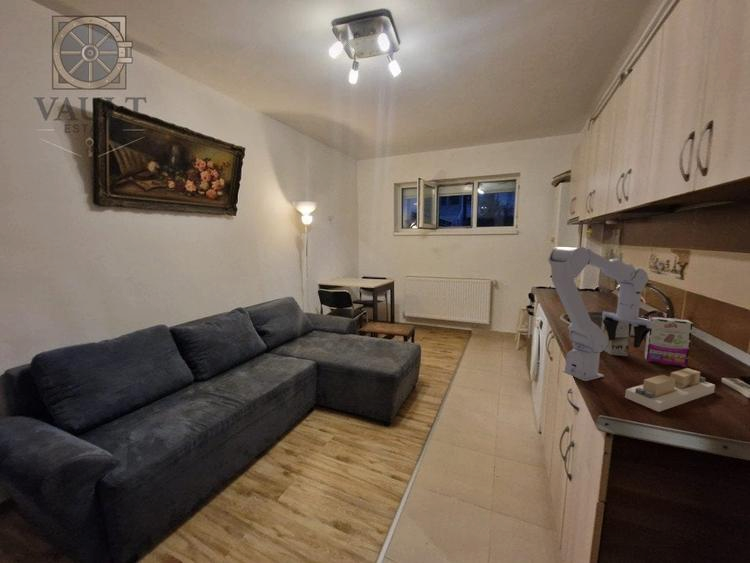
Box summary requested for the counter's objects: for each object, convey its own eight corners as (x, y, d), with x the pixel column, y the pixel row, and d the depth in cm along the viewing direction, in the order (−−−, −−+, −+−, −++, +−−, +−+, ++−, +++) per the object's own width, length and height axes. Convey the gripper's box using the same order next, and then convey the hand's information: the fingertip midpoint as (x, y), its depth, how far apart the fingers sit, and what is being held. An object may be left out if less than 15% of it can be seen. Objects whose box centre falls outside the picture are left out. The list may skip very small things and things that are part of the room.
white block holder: (658, 411, 82) (661, 390, 81) (624, 397, 90) (627, 377, 89) (713, 392, 93) (717, 373, 92) (679, 381, 100) (682, 363, 99)
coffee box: (628, 356, 121) (633, 315, 119) (609, 355, 122) (614, 314, 120) (615, 348, 130) (620, 310, 128) (598, 347, 131) (602, 309, 129)
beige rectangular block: (680, 396, 91) (683, 376, 90) (666, 391, 94) (669, 372, 93) (697, 390, 94) (700, 372, 93) (683, 386, 97) (686, 367, 96)
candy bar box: (682, 363, 115) (689, 319, 112) (687, 368, 111) (694, 322, 108) (643, 357, 121) (648, 315, 118) (645, 361, 116) (651, 318, 114)
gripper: (662, 307, 99) (656, 348, 101) (612, 299, 112) (608, 335, 114) (648, 309, 96) (643, 351, 98) (599, 300, 110) (595, 338, 111)
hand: (623, 343), depth 106 cm, fingers open, 7 cm apart
